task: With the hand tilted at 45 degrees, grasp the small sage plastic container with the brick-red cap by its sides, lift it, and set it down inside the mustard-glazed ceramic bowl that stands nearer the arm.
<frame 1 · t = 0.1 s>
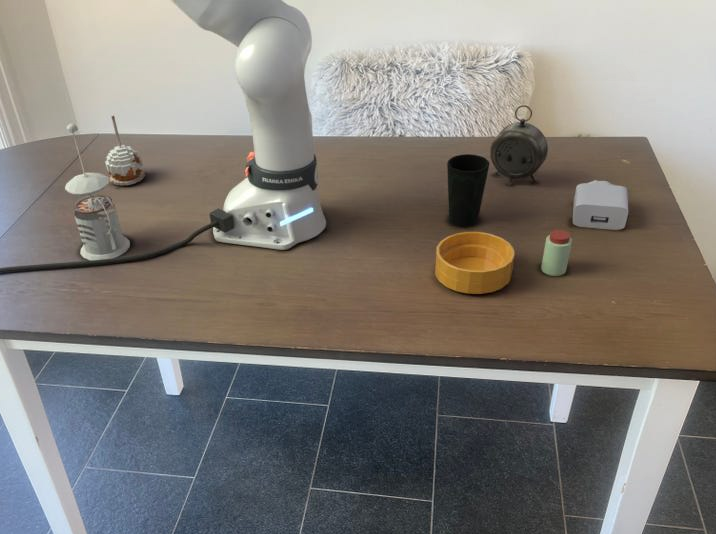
caramel apple: (128, 180, 164), on the table
container: (553, 269, 125), on the table
bowl: (472, 275, 125), on the table
charger: (597, 210, 140), on the table
alarm clock: (513, 182, 151), on the table
cup: (463, 221, 140), on the table
french press: (107, 249, 141), on the table
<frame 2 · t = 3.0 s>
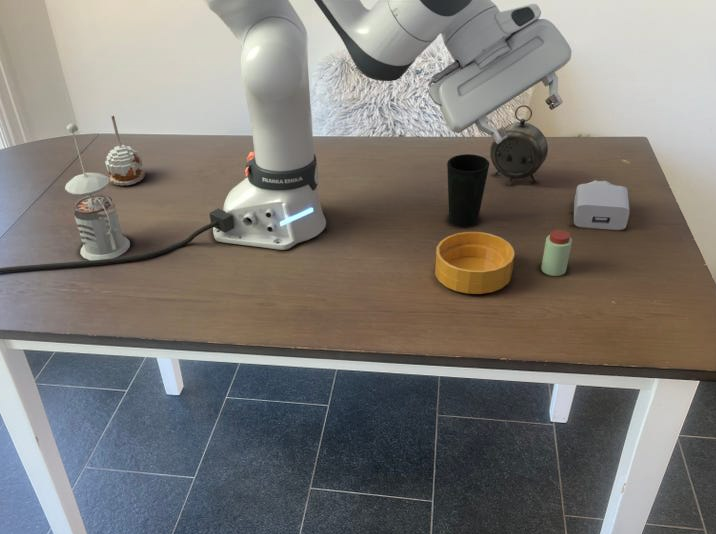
hand: (529, 123, 107), 27 cm above the table, tool tilted 45°, fingers open, 8 cm apart
nothing on the table moved.
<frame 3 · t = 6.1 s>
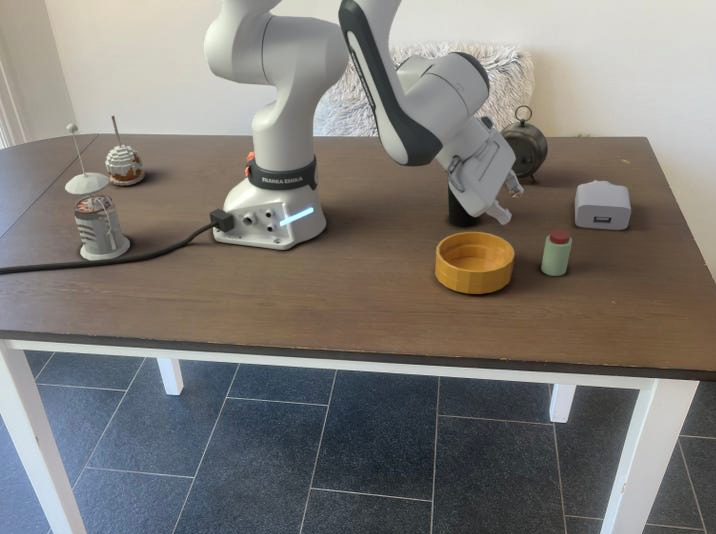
hand: (514, 208, 120), 11 cm above the table, tool tilted 45°, fingers open, 8 cm apart
nothing on the table moved.
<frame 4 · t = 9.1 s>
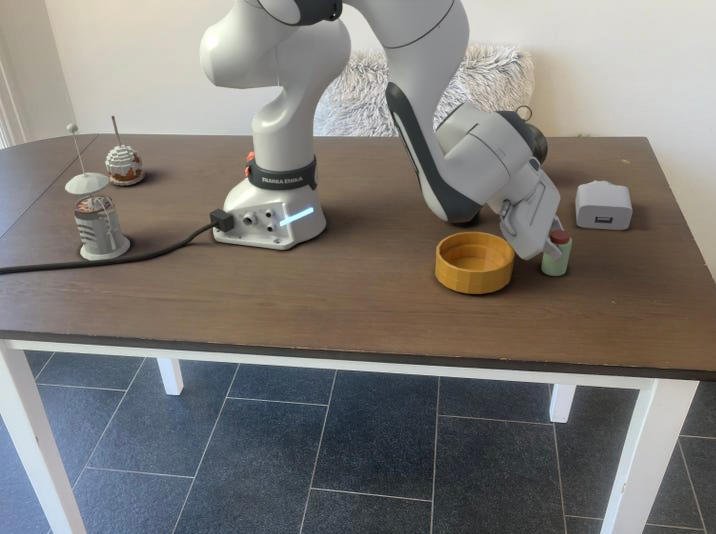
hand: (561, 248, 122), 4 cm above the table, tool tilted 45°, fingers closed on container, 4 cm apart
container: (553, 269, 125), on the table, touching gripper
everything else where it was.
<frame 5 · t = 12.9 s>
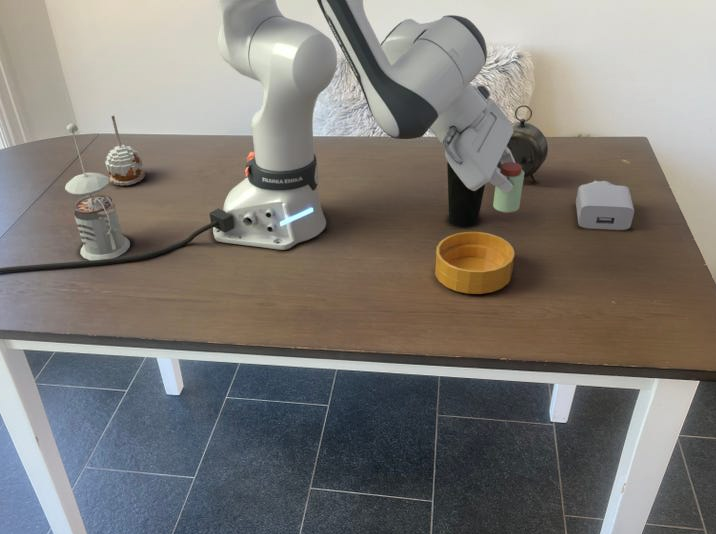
hand: (513, 182, 114), 17 cm above the table, tool tilted 45°, fingers closed on container, 4 cm apart
container: (506, 206, 117), point 13 cm above the table, touching gripper
everything else where it was.
when the fingers open (5 cm above the table, at t = 17.1 s): container stays where it is, resting on bowl.
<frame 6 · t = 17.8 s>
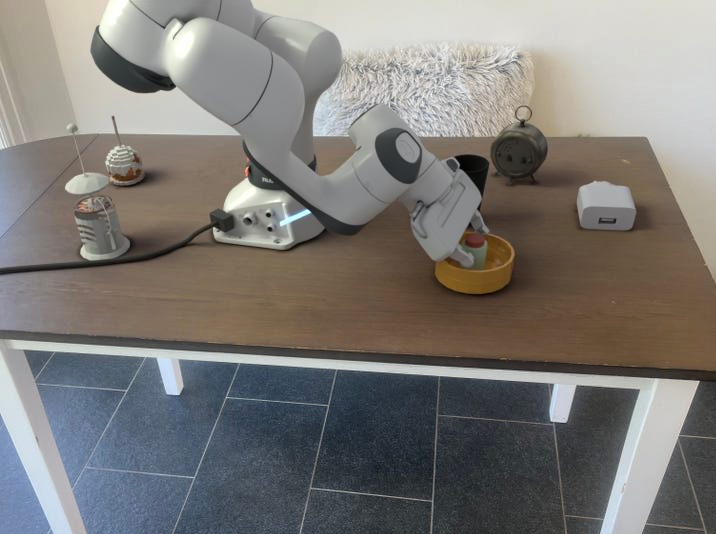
hand: (478, 249, 122), 5 cm above the table, tool tilted 45°, fingers open, 8 cm apart
container: (471, 272, 125), point 1 cm above the table, touching bowl
everything else where it was.
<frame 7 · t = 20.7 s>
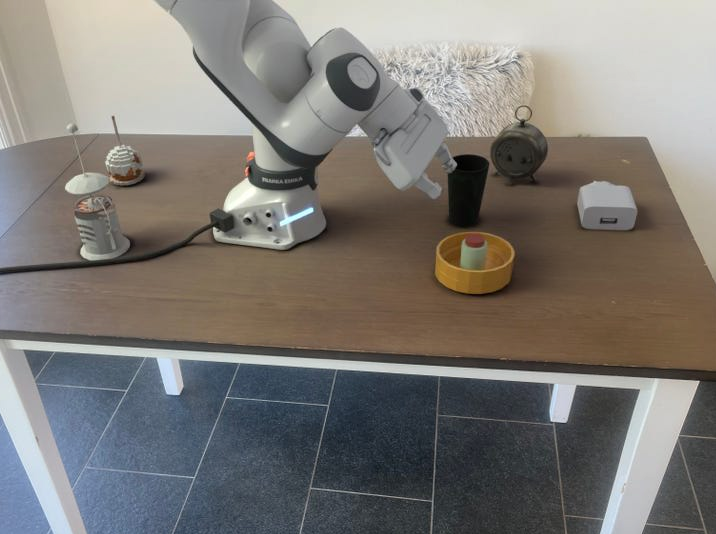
hand: (446, 182, 118), 16 cm above the table, tool tilted 45°, fingers open, 8 cm apart
nothing on the table moved.
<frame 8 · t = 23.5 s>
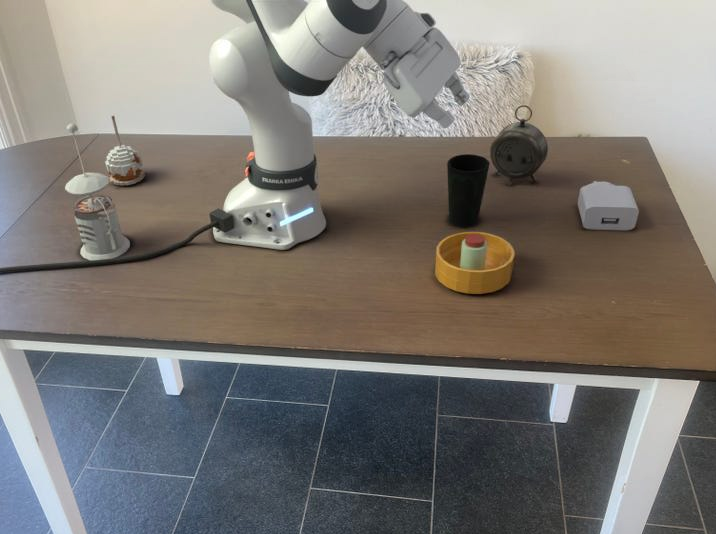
hand: (458, 112, 112), 27 cm above the table, tool tilted 45°, fingers open, 8 cm apart
nothing on the table moved.
at the end: container inside the target area in the bowl (0.2 cm from its centre), point 0.6 cm above the bowl's base; container tilted 0°; the gripper is holding nothing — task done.
